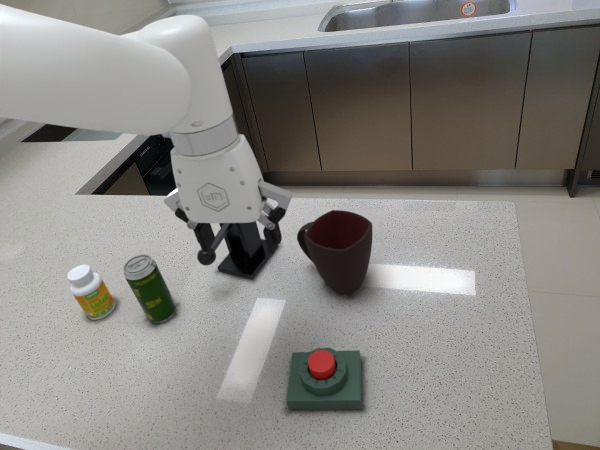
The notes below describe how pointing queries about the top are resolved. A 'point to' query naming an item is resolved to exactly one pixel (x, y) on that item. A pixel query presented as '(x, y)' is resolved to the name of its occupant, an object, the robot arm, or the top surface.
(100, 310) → the supplement bottle
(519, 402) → the top surface
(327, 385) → the control box
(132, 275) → the beer can
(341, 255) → the cup
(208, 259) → the switch lever
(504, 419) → the top surface
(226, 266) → the switch bracket
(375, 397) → the top surface
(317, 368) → the stop button
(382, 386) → the top surface
